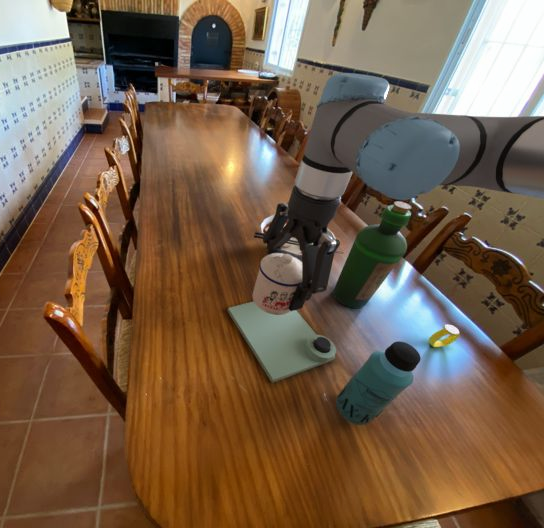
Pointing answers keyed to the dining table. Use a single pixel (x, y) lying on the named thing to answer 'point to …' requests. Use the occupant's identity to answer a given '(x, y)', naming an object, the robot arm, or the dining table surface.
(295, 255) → the ramen bowl
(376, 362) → the beverage bottle
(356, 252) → the bottle
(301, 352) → the scale
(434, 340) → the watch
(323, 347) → the button
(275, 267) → the teacup with lid
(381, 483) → the dining table surface
